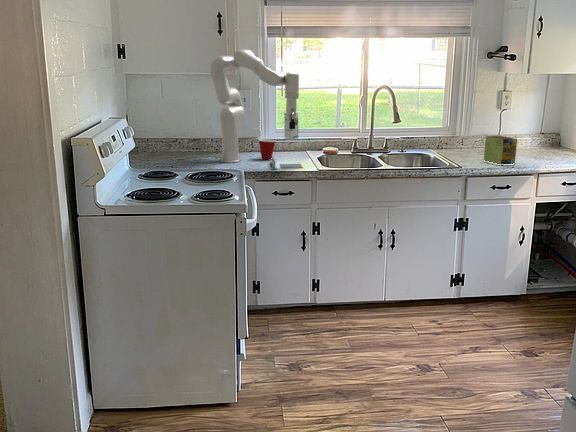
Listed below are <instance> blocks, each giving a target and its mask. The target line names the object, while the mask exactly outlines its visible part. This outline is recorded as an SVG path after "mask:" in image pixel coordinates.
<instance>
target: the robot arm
mask: <svg viewBox="0 0 576 432" xmlns="http://www.w3.org/2000/svg"><path fill="white" fill-rule="evenodd" d="M242 68H243V69H246V70H247V71H248V72H251V73H252V74H254V76H256V78H258V79H259V80H261V81H262V82H264V83H265V84H267V85H269V86H270V87H271V86H272V87H280V86H281V87H282V86H284V99H286V101H285V102H286V103H285V104H286V105H285V106H286V107H285V113H287V117H288V116H290V115H291V114H292V116H290V122H289V129H295V117H296V112H297V100H298V99H299V97H300V95H299V93H300V92H299V91H300V90H299V89H300V87H299V86H300V84H299V83H300V79H299V78H300V75H299V73H298V72H284V71H273V69H270V68H268V67H267V66H265V65H264V61H263V59H261V58H260V57H257V56H255V54H254V52H253V51H251V50H250V49H237V50H236V51H235V52H234V54H233V55H232V54H231V55H219V56H217V57H215V58H213V60H212V61H211V63H210V67H209V70H210V71H209V72H210V75H211V78H212V81H213V82H212V83H213V85H214V89H215V95H216V99H217V101H218V103H219V104H220V105H223V106H225V105H226V106H225V107H224V108H222V109H221V111H220V113H219V119H220V125H221V126H220V127H221V151H222V152H221V153H219V154H217V153H215V154H214V158H215V159H219V162H221V163H228V164H229V163H230V164H231V163H233V162H234V163H239V162H242V159H241V157H239V155H240V154H239V128H238V125H237V123H239V122H241V121H243V119H244V118H245V114H246V113H245V107H244V103H243V100H242V97H241V93H240V92H239V90H238V89H236V88H235V87H231V86H230V82H229V80H228V77H227V75H226V73H225V72H234V71H238V70H240V69H242Z"/></svg>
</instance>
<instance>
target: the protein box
mask: <svg viewBox="0 0 576 432" xmlns="http://www.w3.org/2000/svg"><path fill="white" fill-rule="evenodd" d="M517 146H518V138H514V137H508V136H502V135H490V136H485V142H484V150H483V151H484V153H483V160H485V161H489V162H493V163H497V164H513V163H516V154H517Z"/></svg>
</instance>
